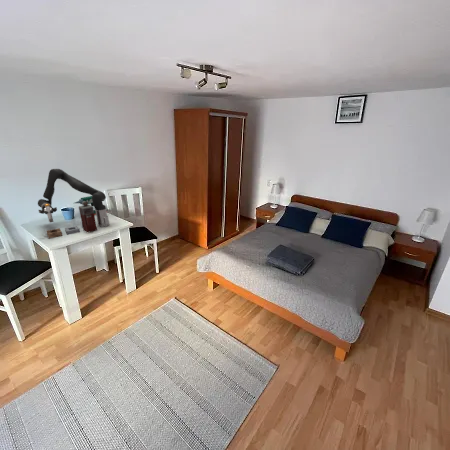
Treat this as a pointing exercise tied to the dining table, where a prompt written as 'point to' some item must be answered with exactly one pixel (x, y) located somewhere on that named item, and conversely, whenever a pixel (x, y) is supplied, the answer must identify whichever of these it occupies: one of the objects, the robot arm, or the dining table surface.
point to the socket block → (72, 230)
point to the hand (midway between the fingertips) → (49, 212)
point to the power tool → (87, 199)
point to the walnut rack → (54, 233)
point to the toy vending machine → (87, 217)
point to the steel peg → (49, 213)
